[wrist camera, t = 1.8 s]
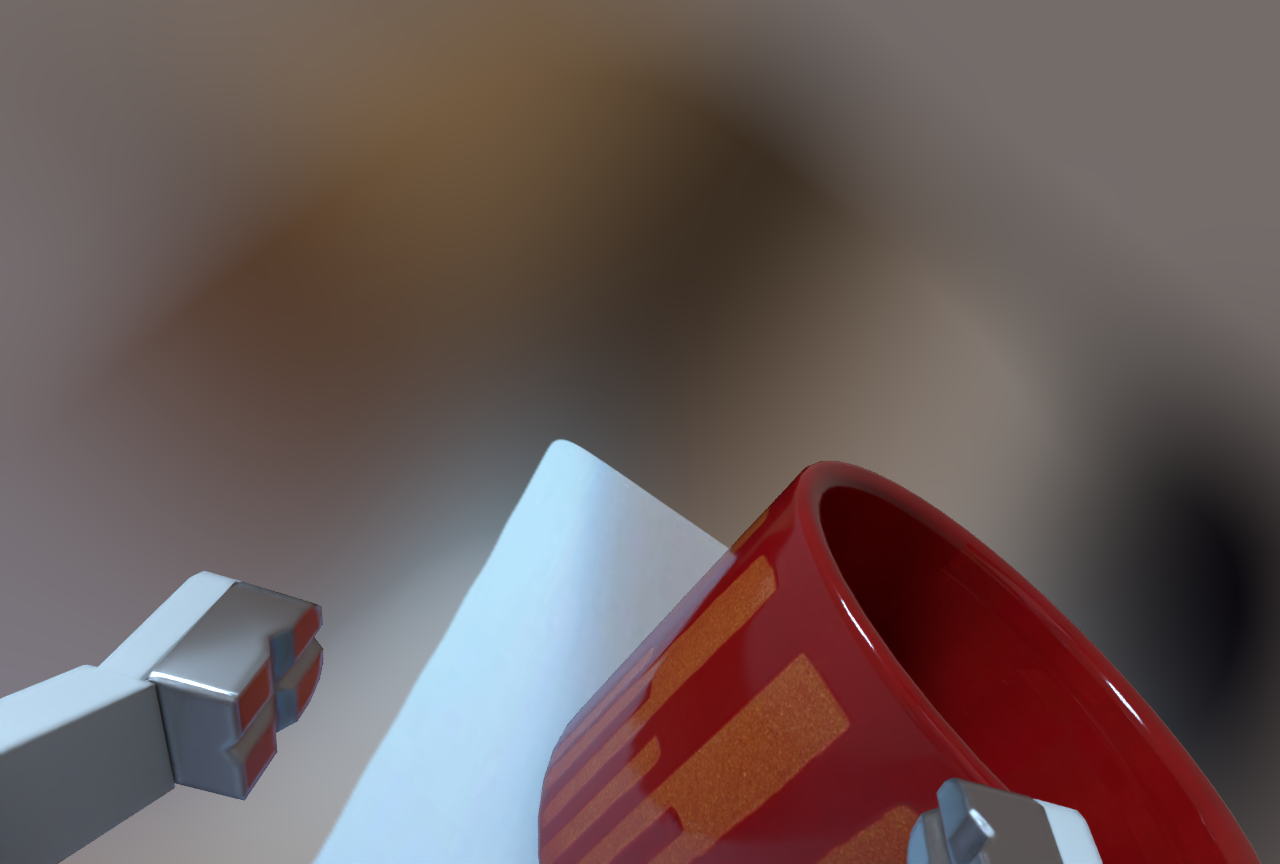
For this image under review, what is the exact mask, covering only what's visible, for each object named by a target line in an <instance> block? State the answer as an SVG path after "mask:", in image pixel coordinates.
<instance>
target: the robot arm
mask: <svg viewBox="0 0 1280 864" xmlns="http://www.w3.org/2000/svg"><path fill="white" fill-rule="evenodd" d="M322 625H323V620H322V608H321V606H320V605H317V604H314V603H312V602H308V601H304V600H302V599H298V598H295V597H292V596H288V595H285V594H282V593H279V592H275V591H272V590H269V589H265V588H262V587H259V586H255V585H252V584H249V583H246V582H242V581H238V580H235V579H231V578H228V577H224V576H220V575H217V574H214V573H210V572H207V571H203V572H201V573H199V574H196V575H194V576H192V577H190V578H189V579H188V580H187V581H186V582H185V583H184V584H183V585H182V586H181V587H180V588H178V589H177V590H176V591H175V592H174V593H173V594H172V595H171V597H169V598H168V599H167V600H166V601H165V602H164V603H163V604H162V605H161V606H160V607H159V608H158V609H157V610H156V611H155V612H154V613H153V614H152V615H151V616H150V617H149V618H148V619H147V620H146V621H145V622H144V623H143V624H142V625H141V626H140V627H139V628H138V629H136V630H135V631H134V632H133V634H132V635H130V636H129V637H128V638H127V639H126V640H125V641H124V642H123V643H122V644H121V645H120V646H119V647H118V648H117V649H116V650H115V651H114V652H113V653H112V654H111V655H110V656H109V657H108V658H107V659H106V660H105V661H104V662H103V663H102V664H101V665H100V666H99V667H95V666H91V665H87V664H85V665H82V666H80V667H78V668H75V669H73V670H70V671H68V672H65V673H63V674H60V675H58V676H55V677H53V678H50V679H48V680H46V681H43V682H41V683H38V684H36V685H33V686H31V687H28V688H26V689H23V690H21V691H18V692H16V693H13V694H11V695H8V696H6V697H3V698H1V699H0V864H58V863H60V862H61V861H63V860H64V859H66V858H67V857H69V856H71V855H72V854H74V853H75V852H77V851H78V850H80V849H81V848H83V847H84V846H86V845H88V844H89V843H90V842H92V841H94V840H95V839H97V838H98V837H100V836H101V835H103V834H104V833H106V832H107V831H109V830H111V829H112V828H114V827H115V826H117V825H118V824H120V823H121V822H123V821H125V820H126V819H128V818H129V817H131V816H132V815H134V814H135V813H137V812H138V811H140V810H142V809H143V808H144V807H146V806H148V805H149V804H151V803H152V802H154V801H155V800H157V799H159V798H160V797H162V796H163V795H165V794H166V793H167V792H169V791H171V790H172V789H174V788H175V784H174V783H176V784H181V785H184V786H188V787H192V788H196V789H200V790H204V791H208V792H212V793H216V794H220V795H224V796H228V797H232V798H236V799H240V800H245V799H246V798H247V796H248V794H249V793H250V792H251V790H252V788H253V787H254V786H255V784H256V783H257V781H258V780H259V778H260V777H261V775H262V774H263V772H264V771H265V769H266V768H267V766H268V765H269V763H270V762H271V760H272V759H273V757H274V755H275V754H276V753H277V744H276V743H277V741H276V733H277V732H278V731H280V730H282V729H284V728H286V727H288V726H290V725H291V724H293V723H295V722H297V721H298V719H299V718H300V717H301V715H302V713H303V712H304V710H305V709H306V707H307V706H308V704H309V702H310V700H311V698H312V696H313V693H314V691H315V689H316V686H317V684H318V682H319V679H320V675H321V670H322V665H323V648H322V647H321V645H320V644H319V643H318V641H317V640H316V639H315V637H314V636H315V635H316V633H317V632H318V631H319V629H320V628H321V626H322ZM936 794H937V799H938V804H939V807H938V808H935V809H932V810H930V811H927V812H924V813H922V814H921V815H920V817H919V818H918V820H917V822H916V823H915V825H914V826H913V828H912V830H911V834H910V838H909V843H908V847H907V864H1103V862H1102V860H1101V857H1100V855H1099V852H1098V850H1097V847H1096V845H1095V842H1094V839H1093V837H1092V834H1091V832H1090V829H1089V827H1088V824H1087V822H1086V820H1085V819H1084V818H1083V817H1082V815H1081V814H1080V813H1079V812H1078V811H1077V810H1074V809H1070V808H1067V807H1063V806H1060V805H1056V804H1052V803H1049V802H1045V801H1041V800H1038V799H1032V798H1031V797H1029V796H1026V795H1022V794H1018V793H1014V792H1010V791H1006V790H1003V789H999V788H995V787H991V786H987V785H983V784H979V783H976V782H972V781H968V780H964V779H960V778H956V777H953V778H951V779H949V780H946V781H945V782H944V783H943V784H942V786H941V787H940V788H939V790H938V791H937V793H936Z"/></svg>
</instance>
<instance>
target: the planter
mask: <svg viewBox="0 0 1280 864" xmlns="http://www.w3.org/2000/svg"><path fill="white" fill-rule="evenodd" d="M953 777H956V778H960V779H964V780H968V781H972V782H976V783H979V784H983V785H987V786H991V787H995V788H999V789H1003V790H1006V791H1010V792H1014V793H1018V794H1022V795H1026V796H1029V797H1031V798H1032V799H1038V800H1041V801H1045V802H1049V803H1052V804H1056V805H1060V806H1063V807H1067V808H1070V809H1074V810H1077V811H1078V812H1079V813H1080V814H1081V815H1082V817H1083V818H1084V819H1085V820H1086V822H1087V824H1088V827H1089V829H1090V832H1091V834H1092V837H1093V839H1094V842H1095V845H1096V847H1097V850H1098V852H1099V855H1100V857H1101V860H1102V862H1103V864H1262V863H1261V861H1260V859H1259V857H1258V856H1257V854H1256V852H1255V850H1254V848H1253V847H1252V845H1251V843H1250V842H1249V840H1248V838H1247V837H1246V835H1245V833H1244V832H1243V830H1242V829H1241V827H1240V826H1239V824H1238V822H1237V821H1236V819H1235V817H1234V816H1233V814H1232V813H1231V812H1230V810H1229V808H1228V807H1227V806H1226V804H1225V803H1224V801H1223V800H1222V798H1221V797H1220V796H1219V794H1218V793H1217V791H1216V790H1215V788H1214V787H1213V785H1212V784H1211V782H1210V781H1209V780H1208V778H1207V777H1206V776H1205V775H1204V773H1203V772H1202V770H1201V769H1200V768H1199V767H1198V765H1197V764H1196V762H1195V761H1194V760H1193V758H1192V757H1191V756H1190V755H1189V753H1188V752H1187V751H1186V749H1185V748H1184V747H1183V746H1182V744H1181V743H1180V742H1179V740H1178V739H1177V738H1176V737H1175V736H1174V734H1173V733H1172V732H1171V731H1170V730H1169V728H1168V727H1167V726H1166V725H1165V723H1164V722H1163V721H1162V720H1161V719H1160V717H1159V716H1158V715H1157V714H1156V713H1155V711H1154V710H1153V709H1152V708H1151V707H1150V706H1149V704H1148V703H1147V702H1146V701H1145V700H1144V699H1143V698H1142V696H1141V695H1140V694H1139V693H1138V692H1137V691H1136V690H1135V688H1134V687H1133V686H1132V685H1131V684H1130V683H1129V682H1128V680H1127V679H1126V678H1125V677H1124V676H1123V675H1122V674H1121V673H1120V672H1119V671H1118V670H1117V669H1116V668H1115V666H1113V664H1112V663H1111V662H1110V661H1109V660H1108V659H1107V658H1106V657H1105V656H1104V654H1103V653H1102V652H1101V651H1100V650H1099V649H1098V648H1097V647H1096V646H1095V645H1094V644H1093V643H1092V642H1091V641H1090V640H1089V639H1088V638H1087V637H1086V636H1085V635H1084V634H1083V633H1082V632H1081V631H1080V630H1079V629H1078V628H1077V627H1076V626H1075V625H1074V624H1073V623H1072V622H1071V621H1070V620H1069V619H1068V618H1067V617H1066V616H1065V615H1064V614H1063V613H1062V612H1061V611H1060V610H1059V609H1057V607H1056V606H1054V605H1053V604H1052V603H1051V602H1050V601H1049V600H1048V599H1047V598H1046V597H1045V596H1044V595H1043V594H1042V593H1041V592H1040V591H1038V590H1037V589H1036V588H1035V587H1034V586H1033V585H1032V584H1031V583H1030V582H1028V581H1027V580H1026V579H1025V578H1024V577H1023V576H1022V575H1021V574H1020V573H1019V572H1017V571H1016V570H1015V569H1014V568H1013V567H1012V566H1010V565H1009V564H1008V563H1007V562H1006V561H1004V560H1003V559H1002V558H1001V557H1000V556H998V555H997V554H996V553H995V552H994V551H993V550H991V549H990V548H989V547H988V546H986V545H985V544H984V543H983V542H981V541H980V540H979V539H978V538H976V537H975V536H974V535H973V534H971V533H970V532H969V531H968V530H966V529H965V528H963V527H962V526H961V525H959V524H958V523H957V522H955V521H954V520H953V519H951V518H950V517H948V516H947V515H946V514H944V513H943V512H942V511H940V510H939V509H937V508H935V507H934V506H933V505H931V504H929V503H928V502H927V501H925V500H923V499H922V498H921V497H919V496H917V495H916V494H914V493H912V492H911V491H909V490H907V489H906V488H904V487H902V486H900V485H899V484H897V483H895V482H893V481H891V480H889V479H887V478H885V477H883V476H881V475H879V474H877V473H875V472H872V471H870V470H867V469H864V468H862V467H859V466H856V465H853V464H848V463H843V462H839V461H821V462H818V463H815V464H812V465H810V466H808V467H806V468H805V469H804V470H803V471H802V472H801V473H800V474H799V475H798V476H797V477H796V478H795V479H794V481H792V482H791V484H790V485H789V486H788V487H787V488H786V489H785V490H784V491H783V492H782V493H781V495H779V496H778V497H777V499H775V501H774V502H773V503H772V504H771V505H770V506H769V507H768V508H767V509H766V510H765V511H764V512H763V513H762V514H761V515H760V516H759V517H758V518H757V520H756V521H755V522H754V523H753V524H752V525H751V526H750V527H749V528H748V529H747V530H746V531H745V532H744V533H743V534H742V535H741V537H740V538H739V539H738V540H737V541H736V542H735V543H734V544H733V545H732V546H731V547H730V548H729V549H728V550H727V551H726V552H725V554H724V555H723V556H722V557H721V558H720V559H719V560H718V561H717V562H716V563H715V564H714V565H713V566H712V567H711V569H710V570H709V571H708V572H707V573H706V574H705V575H704V576H703V577H702V578H701V579H700V580H699V581H698V582H697V584H696V585H695V586H694V587H693V588H692V589H691V590H690V591H689V592H688V593H687V594H686V595H685V596H684V598H683V599H682V600H681V601H680V602H679V603H678V604H677V605H676V606H675V607H674V608H673V609H672V610H671V612H670V613H669V614H668V615H667V616H666V617H665V618H664V619H663V620H662V621H661V622H660V623H659V625H658V626H657V627H656V628H655V629H654V630H653V631H652V632H651V633H650V634H649V635H648V636H647V637H646V639H645V640H644V641H643V642H642V643H641V644H640V645H639V646H638V647H637V648H636V649H635V650H634V652H633V653H632V654H631V655H630V656H629V657H628V658H627V659H626V660H625V661H624V662H623V663H622V665H621V666H620V667H619V668H618V669H617V670H616V671H615V672H614V673H613V674H612V675H611V676H610V678H609V679H608V680H607V681H606V682H605V683H604V684H603V685H602V686H601V687H600V688H599V690H598V691H597V692H596V693H595V694H594V695H593V696H592V697H591V698H590V699H589V701H588V702H587V703H586V704H585V705H584V706H583V707H582V708H581V710H580V711H579V712H578V713H577V714H576V715H575V716H574V717H573V719H572V720H571V721H570V722H569V723H568V724H567V726H566V728H565V730H564V731H563V733H562V735H561V737H560V739H559V741H558V742H557V744H556V746H555V748H554V750H553V752H552V755H551V758H550V761H549V765H548V768H547V771H546V774H545V777H544V781H543V788H542V794H541V801H540V808H539V815H538V858H539V864H907V847H908V843H909V838H910V834H911V830H912V828H913V826H914V825H915V823H916V822H917V820H918V818H919V817H920V815H921V814H922V813H924V812H927V811H930V810H932V809H935V808H938V807H939V804H938V799H937V794H936V793H937V791H938V790H939V788H940V787H941V786H942V784H943V783H944V782H945V781H946V780H949V779H951V778H953Z"/></svg>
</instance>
